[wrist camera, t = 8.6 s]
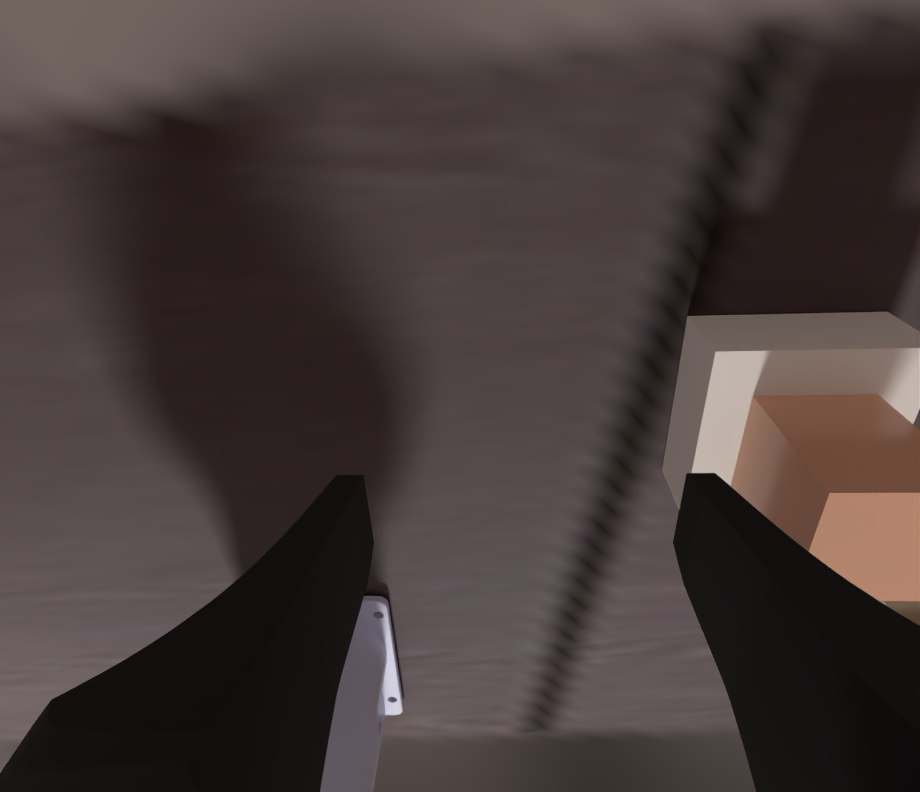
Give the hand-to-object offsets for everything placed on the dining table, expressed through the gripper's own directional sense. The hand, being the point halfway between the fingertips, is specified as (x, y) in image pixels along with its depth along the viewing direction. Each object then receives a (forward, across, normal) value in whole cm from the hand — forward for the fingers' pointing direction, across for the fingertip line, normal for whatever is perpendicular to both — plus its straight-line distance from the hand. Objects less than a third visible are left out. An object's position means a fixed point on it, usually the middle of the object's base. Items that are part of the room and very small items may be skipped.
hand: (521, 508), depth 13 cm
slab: (+10, -10, +3) cm, 14 cm away
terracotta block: (+7, -10, +3) cm, 13 cm away
